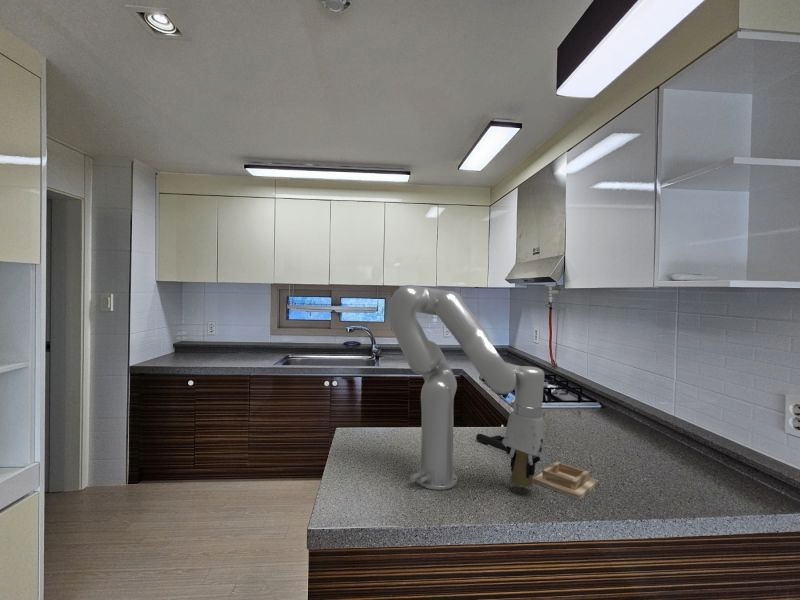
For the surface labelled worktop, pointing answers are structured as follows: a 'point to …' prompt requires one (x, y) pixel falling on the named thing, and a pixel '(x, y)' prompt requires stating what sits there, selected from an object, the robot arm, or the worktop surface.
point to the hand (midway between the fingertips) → (522, 473)
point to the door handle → (493, 442)
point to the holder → (566, 480)
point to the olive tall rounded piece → (521, 470)
